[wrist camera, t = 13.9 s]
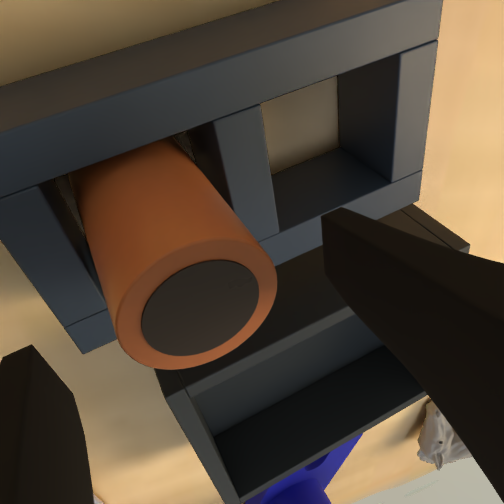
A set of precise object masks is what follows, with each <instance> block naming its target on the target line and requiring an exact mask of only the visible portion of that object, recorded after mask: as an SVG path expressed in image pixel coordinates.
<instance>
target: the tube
mask: <svg viewBox="0 0 504 504" xmlns="http://www.w3.org/2000/svg"><path fill="white" fill-rule="evenodd" d="M69 181H70V184H71V188H72V191H73V195H74V198H75V201H76V205H77V208H78V211H79V214H80V218H81V221H82V224H83V228H84V231H85V234H86V238H87V241H88V244H89V248H90V251H91V254H92V258H93V261H94V264H95V267H96V271H97V274H98V277H99V281H100V284H101V287H102V291H103V294H104V297H105V301H106V304H107V307H108V310H109V314H110V317H111V320H112V324H113V327H114V330H115V334H116V337H117V340H118V342H119V344H120V346H121V347H122V349H123V350H124V351H125V352H126V353H127V354H128V355H129V356H130V357H131V358H132V359H134V360H135V361H137V362H139V363H141V364H143V365H145V366H148V367H152V368H157V369H167V370H175V369H185V368H190V367H195V366H198V365H202V364H205V363H208V362H210V361H213V360H215V359H217V358H219V357H221V356H223V355H225V354H227V353H229V352H230V351H232V350H233V349H235V348H236V347H238V346H239V345H240V344H242V343H243V342H244V341H245V340H246V339H248V338H249V337H250V336H251V335H252V334H253V333H254V332H255V331H256V330H257V329H258V327H259V326H260V325H261V324H262V322H263V321H264V320H265V318H266V316H267V315H268V313H269V311H270V309H271V307H272V305H273V302H274V300H275V296H276V292H277V273H276V269H275V266H274V264H273V262H272V260H271V258H270V257H269V256H268V254H267V253H266V252H265V250H264V249H263V248H262V247H261V245H260V244H259V243H258V242H257V240H256V239H255V238H254V237H253V235H252V234H251V233H250V232H249V230H248V229H247V228H246V227H245V225H244V224H243V223H242V222H241V220H240V219H239V218H238V217H237V215H236V214H235V213H234V212H233V210H232V209H231V208H230V207H229V205H228V204H227V203H226V201H225V200H224V199H223V198H222V196H221V195H220V194H219V193H218V191H217V190H216V189H215V188H214V186H213V185H212V184H211V183H210V181H209V180H208V179H207V178H206V176H205V175H204V174H203V173H202V171H201V170H200V169H199V168H198V166H197V165H196V164H195V163H194V161H193V160H192V159H191V158H190V156H189V155H188V154H187V153H186V151H185V150H184V149H183V148H182V146H181V145H180V144H179V143H178V141H177V140H176V139H175V138H174V136H173V135H171V136H169V137H166V138H163V139H160V140H158V141H155V142H152V143H149V144H147V145H144V146H141V147H138V148H136V149H133V150H130V151H127V152H125V153H122V154H119V155H116V156H114V157H111V158H108V159H105V160H103V161H100V162H97V163H94V164H92V165H89V166H86V167H83V168H81V169H78V170H75V171H72V172H70V173H69Z"/></svg>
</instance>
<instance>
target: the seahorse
mask: <svg viewBox="0 0 504 504" xmlns="http://www.w3.org/2000/svg"><path fill="white" fill-rule="evenodd" d="M426 410H427V414H426V419H425V420H424V422H423V427H422V429H421V433H420V435H419V438H418V440H417V441H418V443H419V446H420V449H419V451H418V452H417V455H418V457H420V460H422V461H426V462H427V463H431V464H433V463H435V465H436V467H437V469H438V470H440V469H441V468H442V465H443V464H446V463H452V462H456V461H457V460H459V459H465V458H470V457H473V456H472V455H471V453H470V452H469V450H468V449H467V448H466V446H465V445H464V443H463V442H462V440H461V439H460V438H459V436H458V435H457V434H456V432H455V431H454V429H453V428H452V427H451V425H450V424H449V423H448V421H447V420H446V418H445V417H444V416H443V414H442V413H441V412H440V410H439V409H438V408H437V406H436V405H435V404H434V402H433V401H432V400H431V401H430V403H427V404H426Z"/></svg>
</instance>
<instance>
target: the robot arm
mask: <svg viewBox="0 0 504 504" xmlns="http://www.w3.org/2000/svg"><path fill="white" fill-rule="evenodd" d="M321 228H322V243H323V258H324V273H325V275H326V276H327V278H328V279H329V280H330V282H331V283H332V285H333V286H334V288H335V289H336V290H337V292H338V293H339V295H340V296H341V297H342V299H343V300H344V301H345V303H346V304H347V305H348V306H349V307H350V308H351V309H352V311H353V312H354V313H355V314H356V315H357V316H358V317H359V318H360V319H361V320H362V321H363V322H364V323H365V325H366V326H367V327H368V328H369V329H370V330H371V331H372V332H373V333H374V334H375V335H376V336H377V337H378V338H379V339H380V340H381V342H382V343H383V344H384V345H385V346H386V347H387V348H388V349H389V350H390V351H391V352H392V353H393V354H394V355H395V356H396V357H397V359H398V360H399V361H400V362H401V363H402V364H403V365H404V366H405V367H406V368H407V370H408V371H409V372H410V373H411V374H412V375H413V377H414V378H415V379H416V380H417V381H418V383H419V384H420V385H421V387H422V388H423V389H424V391H425V392H426V393H427V395H428V396H429V397H430V398H431V400H432V401H433V402H434V404H435V405H436V406H437V408H438V409H439V410H440V412H441V413H442V414H443V416H444V417H445V418H446V420H447V421H448V423H449V424H450V425H451V427H452V428H453V429H454V431H455V432H456V434H457V435H458V436H459V438H460V439H461V440H462V442H463V443H464V445H465V446H466V448H467V449H468V450H469V452H470V453H471V455H472V456H473V458H474V459H475V460H476V462H477V464H478V465H479V466H480V468H481V469H482V471H483V472H484V474H485V475H486V477H487V478H488V480H489V481H490V483H491V484H492V486H493V487H494V489H495V490H496V492H497V493H498V495H499V497H500V498H501V500H502V501H503V503H504V264H503V263H500V262H496V261H492V260H488V259H484V258H481V257H477V256H474V255H470V254H467V253H464V252H461V251H458V250H455V249H452V248H449V247H445V246H442V245H440V244H437V243H434V242H431V241H428V240H425V239H423V238H420V237H417V236H415V235H412V234H409V233H407V232H404V231H402V230H399V229H396V228H394V227H391V226H389V225H386V224H384V223H381V222H379V221H376V220H374V219H371V218H369V217H366V216H364V215H362V214H359V213H356V212H354V211H351V210H349V209H346V208H343V207H340V208H338V209H335V210H333V211H331V212H329V213H326V214H324V215H322V216H321ZM0 504H104V503H103V502H102V501H101V500H100V499H99V498H98V497H97V496H95V495H94V494H93V489H92V482H91V475H90V468H89V461H88V454H87V447H86V441H85V434H84V431H83V427H82V423H81V419H80V416H79V412H78V409H77V405H76V402H75V399H74V395H73V393H72V392H71V391H70V389H69V388H68V387H67V386H66V385H65V383H64V382H63V381H62V380H61V379H60V377H59V376H58V375H57V374H56V373H55V371H54V370H53V369H52V368H51V367H50V365H49V364H48V363H47V362H46V361H45V359H44V358H43V357H42V356H41V355H40V353H39V352H38V351H37V350H36V349H35V347H34V346H33V345H32V344H31V345H29V346H27V347H25V348H22V349H20V350H18V351H16V352H13V353H11V354H9V355H7V356H4V357H3V358H2V361H1V363H0Z"/></svg>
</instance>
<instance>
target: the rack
mask: <svg viewBox="0 0 504 504" xmlns="http://www.w3.org/2000/svg"><path fill="white" fill-rule="evenodd" d="M442 4H443V0H280V1H277V2H273V3H270V4H267V5H264V6H260V7H257V8H254V9H251V10H247V11H244V12H241V13H238V14H234V15H231V16H228V17H225V18H221V19H218V20H215V21H212V22H208V23H205V24H202V25H199V26H195V27H192V28H189V29H186V30H182V31H179V32H176V33H173V34H169V35H166V36H163V37H160V38H156V39H153V40H150V41H147V42H143V43H140V44H137V45H134V46H131V47H127V48H124V49H121V50H118V51H114V52H111V53H108V54H105V55H101V56H98V57H95V58H92V59H88V60H85V61H82V62H79V63H75V64H72V65H69V66H66V67H62V68H59V69H56V70H53V71H49V72H46V73H43V74H40V75H36V76H33V77H30V78H27V79H23V80H20V81H17V82H14V83H10V84H7V85H4V86H1V87H0V240H1V241H2V243H3V244H4V246H5V247H6V248H7V250H8V251H9V253H10V254H11V255H12V257H13V258H14V259H15V261H16V262H17V264H18V265H19V266H20V268H21V269H22V271H23V272H24V273H25V275H26V276H27V277H28V279H29V280H30V282H31V283H32V284H33V286H34V287H35V289H36V290H37V291H38V293H39V294H40V296H41V297H42V298H43V300H44V301H45V302H46V304H47V305H48V307H49V308H50V309H51V311H52V312H53V314H54V315H55V316H56V318H57V319H58V320H59V322H60V323H61V325H62V326H63V327H64V329H65V330H66V332H67V333H68V334H69V336H70V337H71V339H72V340H73V341H74V343H75V344H76V346H77V347H78V348H79V350H80V351H81V352H82V354H86V353H88V352H90V351H92V350H94V349H97V348H99V347H101V346H103V345H105V344H107V343H110V342H112V341H114V340H116V339H117V337H116V334H115V330H114V327H113V324H112V320H111V317H110V314H109V310H108V307H107V304H106V301H105V297H104V294H103V291H102V287H101V284H100V281H99V277H98V274H97V271H96V267H95V264H94V261H93V258H92V254H91V251H90V248H89V244H88V242H87V241H86V239H85V237H84V235H83V233H82V231H81V230H80V228H79V226H78V224H77V222H76V220H75V219H74V217H73V215H72V213H71V211H70V209H69V208H68V206H67V204H66V202H65V200H64V198H63V197H62V195H61V193H60V191H59V189H58V187H57V186H56V184H55V182H54V180H53V178H56V177H59V176H61V175H64V174H67V173H70V172H72V171H75V170H78V169H81V168H83V167H86V166H89V165H92V164H94V163H97V162H100V161H103V160H105V159H108V158H111V157H114V156H116V155H119V154H122V153H125V152H127V151H130V150H133V149H136V148H138V147H141V146H144V145H147V144H149V143H152V142H155V141H158V140H160V139H163V138H166V137H169V136H171V135H174V134H177V133H180V132H182V131H185V130H187V131H188V135H189V138H190V142H191V145H192V149H193V153H194V156H195V160H196V163H197V166H198V168H199V169H200V170H201V171H202V173H203V174H204V175H205V176H206V178H207V179H208V180H209V181H210V183H211V184H212V185H213V186H214V188H215V189H216V190H217V191H218V193H219V194H220V195H221V196H222V198H223V199H224V200H225V201H226V203H227V204H228V205H229V207H230V208H231V209H232V210H233V212H234V213H235V214H236V215H237V217H238V218H239V219H240V220H241V222H242V223H243V224H244V225H245V227H246V228H247V229H248V230H249V232H250V233H251V234H252V235H253V237H254V238H255V239H256V240H257V242H258V243H259V244H260V245H261V247H262V248H263V249H264V250H265V252H266V253H267V254H268V256H269V257H270V258H271V260H272V262H273V264H274V266H277V265H279V264H282V263H284V262H286V261H288V260H290V259H292V258H295V257H297V256H299V255H301V254H303V253H305V252H308V251H310V250H312V249H314V248H316V247H319V246H321V245H323V243H322V228H321V216H322V215H324V214H326V213H329V212H331V211H333V210H335V209H338V208H340V207H343V208H346V209H349V210H351V211H354V212H356V213H359V214H362V215H364V216H366V217H369V218H371V219H374V220H377V219H379V218H382V217H384V216H386V215H388V214H390V213H393V212H395V211H397V210H399V209H401V208H403V207H406V206H408V205H410V204H412V203H414V202H416V201H418V200H419V195H420V187H421V179H422V168H423V162H424V154H425V145H426V137H427V129H428V121H429V113H430V104H431V96H432V88H433V80H434V71H435V63H436V55H437V47H438V40H436V39H438V37H439V29H440V21H441V12H442ZM337 75H338V96H339V136H340V148H337V149H335V150H332V151H330V152H327V153H325V154H323V155H320V156H318V157H315V158H313V159H310V160H308V161H305V162H303V163H300V164H298V165H295V166H293V167H291V168H288V169H286V170H283V171H281V172H278V173H276V174H273V175H271V172H270V165H269V158H268V152H267V145H266V138H265V132H264V125H263V118H262V112H261V105H260V103H262V102H265V101H268V100H271V99H273V98H276V97H279V96H282V95H284V94H287V93H290V92H293V91H295V90H298V89H301V88H304V87H306V86H309V85H312V84H315V83H317V82H320V81H323V80H326V79H328V78H331V77H334V76H337Z"/></svg>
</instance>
